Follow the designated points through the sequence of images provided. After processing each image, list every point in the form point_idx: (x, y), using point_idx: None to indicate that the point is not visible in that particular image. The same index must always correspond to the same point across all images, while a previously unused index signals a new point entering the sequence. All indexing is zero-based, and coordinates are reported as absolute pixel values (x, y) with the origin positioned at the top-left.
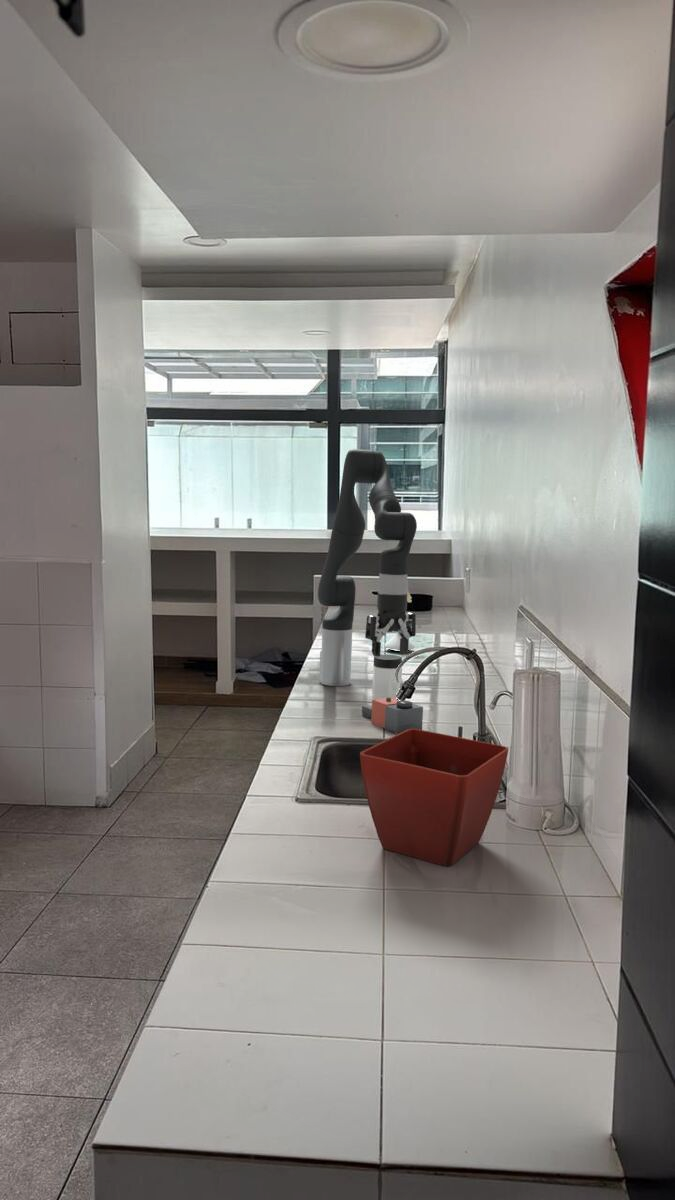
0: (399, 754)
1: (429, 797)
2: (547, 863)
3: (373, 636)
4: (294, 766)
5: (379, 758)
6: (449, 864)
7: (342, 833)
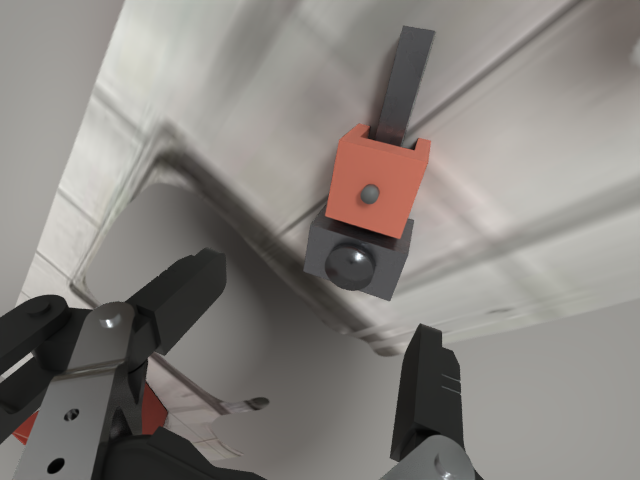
0: None
1: None
2: None
3: (60, 371)
4: (87, 219)
5: (22, 442)
6: None
7: None
